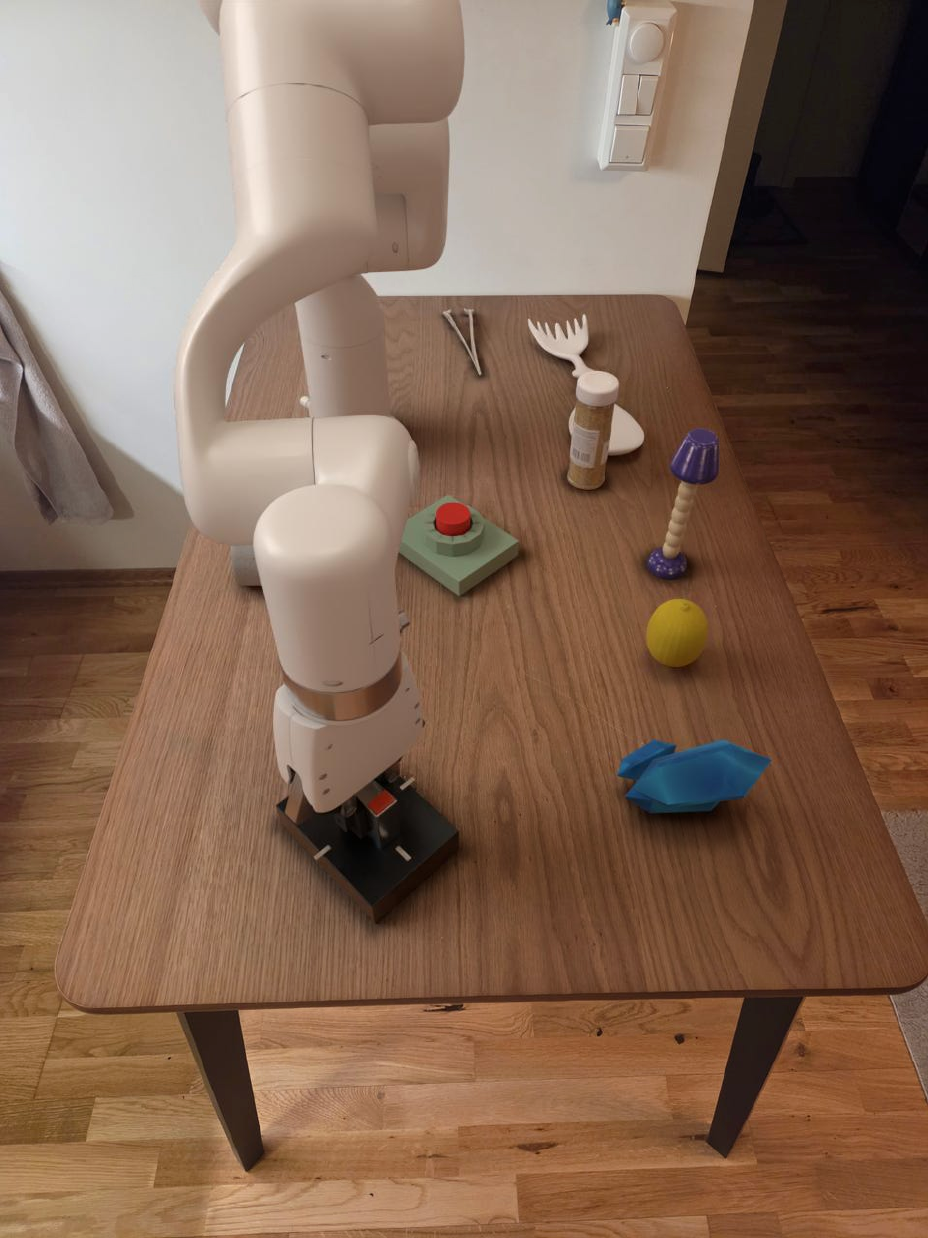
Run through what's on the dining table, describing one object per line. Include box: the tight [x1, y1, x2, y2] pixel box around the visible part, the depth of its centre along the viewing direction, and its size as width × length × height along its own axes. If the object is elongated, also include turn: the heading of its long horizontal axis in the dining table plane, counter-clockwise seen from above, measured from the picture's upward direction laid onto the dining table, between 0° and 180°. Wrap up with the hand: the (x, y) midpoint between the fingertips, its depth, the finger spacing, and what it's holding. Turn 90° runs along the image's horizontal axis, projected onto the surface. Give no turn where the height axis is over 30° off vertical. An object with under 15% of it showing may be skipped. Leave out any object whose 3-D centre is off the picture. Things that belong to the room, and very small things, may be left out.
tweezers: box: [442, 308, 482, 376], centre depth 124 cm, size 18×5×2 cm, turn 11°
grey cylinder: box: [230, 545, 262, 587], centre depth 90 cm, size 11×8×8 cm
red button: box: [436, 502, 470, 537], centre depth 91 cm, size 4×4×2 cm
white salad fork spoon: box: [527, 313, 645, 456], centre depth 114 cm, size 9×32×4 cm, turn 10°
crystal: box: [616, 738, 773, 814], centre depth 70 cm, size 7×9×12 cm
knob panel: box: [275, 775, 460, 925], centre depth 69 cm, size 12×10×3 cm
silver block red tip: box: [355, 779, 400, 849], centre depth 66 cm, size 6×2×5 cm, turn 45°
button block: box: [398, 494, 520, 597], centre depth 93 cm, size 11×9×4 cm
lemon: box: [645, 598, 709, 668], centre depth 81 cm, size 6×6×8 cm
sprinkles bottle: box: [566, 370, 620, 491], centre depth 98 cm, size 5×5×14 cm
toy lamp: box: [646, 428, 720, 580], centre depth 86 cm, size 5×5×17 cm
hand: (365, 813), depth 68 cm, fingers closed on silver block red tip, 2 cm apart
